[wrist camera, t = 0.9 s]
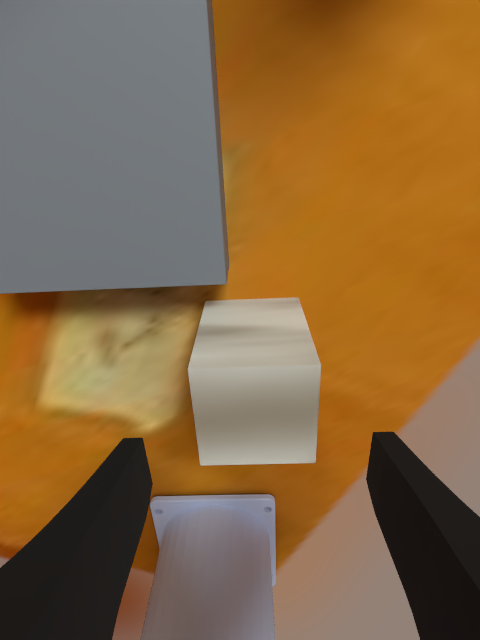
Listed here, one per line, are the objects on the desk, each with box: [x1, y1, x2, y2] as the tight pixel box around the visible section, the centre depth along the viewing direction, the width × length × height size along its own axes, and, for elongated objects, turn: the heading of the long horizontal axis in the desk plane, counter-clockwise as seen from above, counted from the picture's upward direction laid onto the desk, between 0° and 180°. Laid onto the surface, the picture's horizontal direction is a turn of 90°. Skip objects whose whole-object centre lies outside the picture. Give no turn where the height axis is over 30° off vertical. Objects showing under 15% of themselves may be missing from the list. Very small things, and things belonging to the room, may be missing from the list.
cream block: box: [188, 298, 321, 465], centre depth 16 cm, size 4×4×6 cm
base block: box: [0, 0, 229, 294], centre depth 14 cm, size 10×10×3 cm
